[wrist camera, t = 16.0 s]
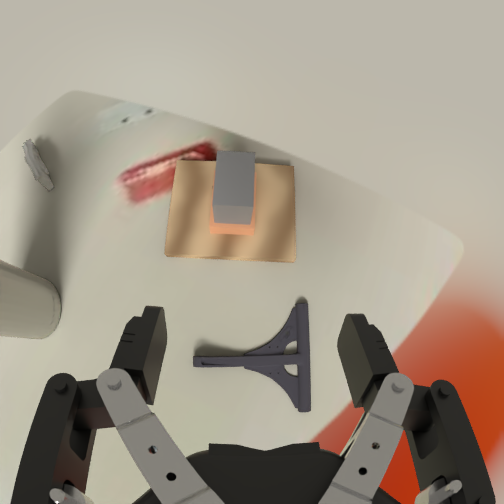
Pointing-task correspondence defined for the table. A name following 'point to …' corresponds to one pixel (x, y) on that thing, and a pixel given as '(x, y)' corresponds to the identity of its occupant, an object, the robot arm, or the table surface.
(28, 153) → the garden wall model
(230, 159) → the block
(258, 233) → the oak board
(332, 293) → the table surface
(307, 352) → the bracket
